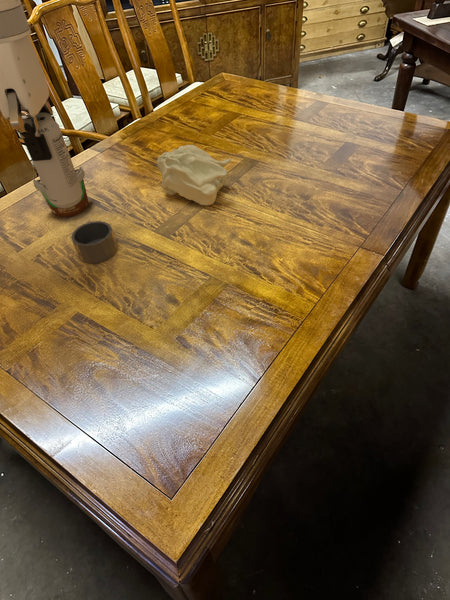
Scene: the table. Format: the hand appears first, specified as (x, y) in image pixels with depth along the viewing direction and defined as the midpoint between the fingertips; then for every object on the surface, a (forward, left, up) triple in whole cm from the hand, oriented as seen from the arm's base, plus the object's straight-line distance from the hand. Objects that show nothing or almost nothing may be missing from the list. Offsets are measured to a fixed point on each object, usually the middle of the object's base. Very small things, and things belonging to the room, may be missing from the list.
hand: (47, 148), depth 70 cm
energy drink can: (0, 0, -10) cm, 10 cm away
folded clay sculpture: (+23, +26, -27) cm, 44 cm away
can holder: (0, +7, -27) cm, 28 cm away
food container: (-9, +24, -27) cm, 37 cm away
